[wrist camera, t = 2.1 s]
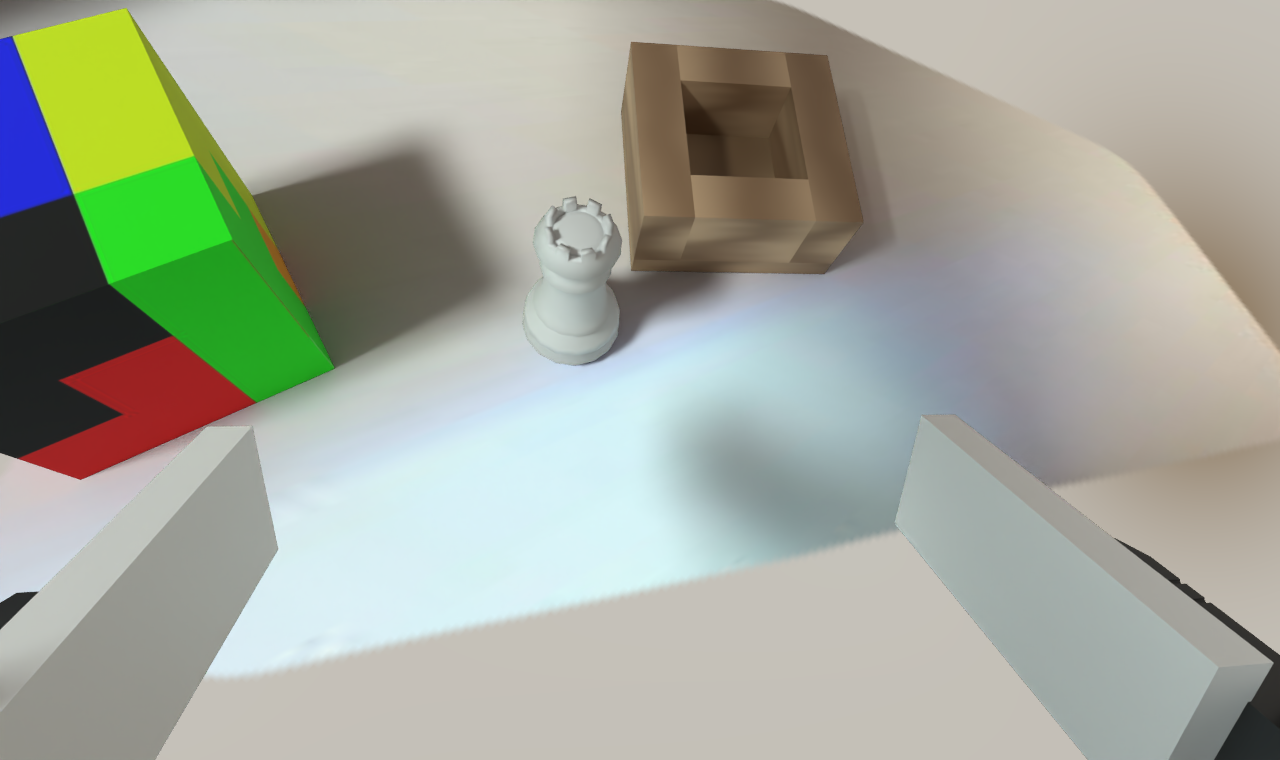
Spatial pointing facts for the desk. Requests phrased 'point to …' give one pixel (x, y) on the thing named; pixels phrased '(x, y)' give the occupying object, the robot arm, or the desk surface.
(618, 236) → the rook chess piece
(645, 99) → the socket block
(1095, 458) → the desk surface
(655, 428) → the desk surface
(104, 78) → the puzzle toy
